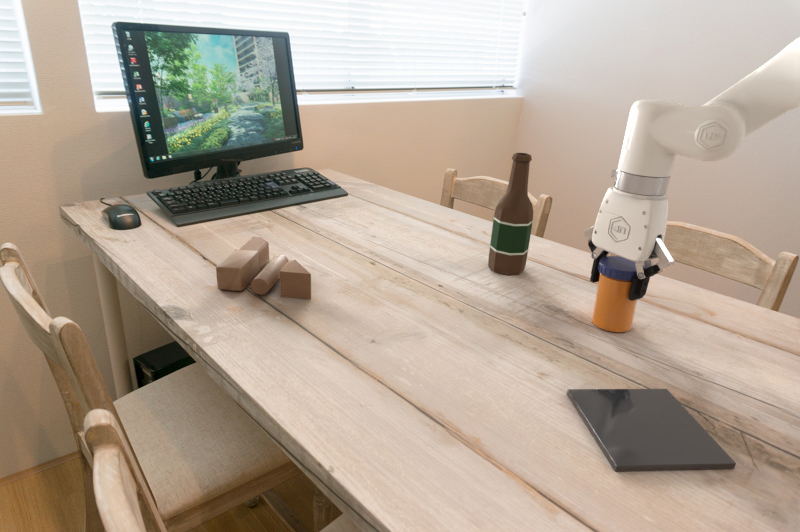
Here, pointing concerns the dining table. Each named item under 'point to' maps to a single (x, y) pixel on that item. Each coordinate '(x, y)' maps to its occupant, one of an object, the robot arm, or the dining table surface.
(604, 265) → the jar lid
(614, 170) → the robot arm
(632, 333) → the dining table surface
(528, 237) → the beer bottle
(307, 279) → the wooden block set
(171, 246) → the dining table surface
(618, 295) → the honey jar
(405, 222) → the dining table surface
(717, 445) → the slate coaster
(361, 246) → the dining table surface
